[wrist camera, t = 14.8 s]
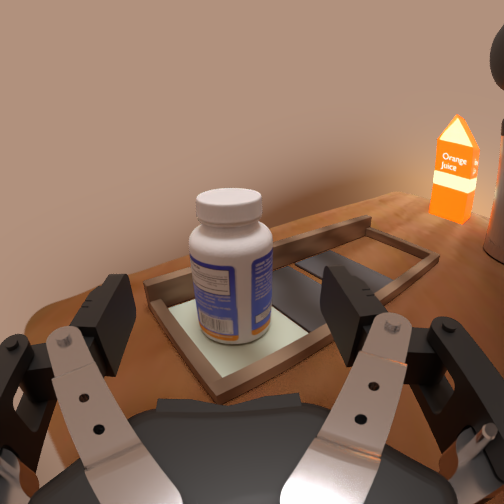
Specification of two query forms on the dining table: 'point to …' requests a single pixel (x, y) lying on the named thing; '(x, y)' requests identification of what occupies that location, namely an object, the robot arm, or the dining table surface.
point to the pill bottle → (232, 265)
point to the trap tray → (283, 299)
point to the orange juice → (455, 172)
